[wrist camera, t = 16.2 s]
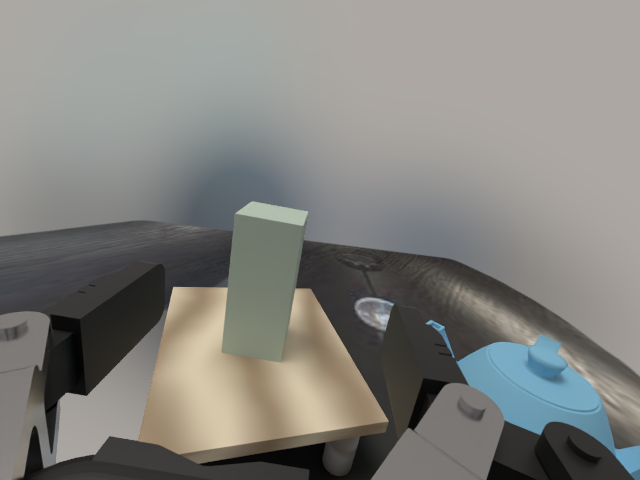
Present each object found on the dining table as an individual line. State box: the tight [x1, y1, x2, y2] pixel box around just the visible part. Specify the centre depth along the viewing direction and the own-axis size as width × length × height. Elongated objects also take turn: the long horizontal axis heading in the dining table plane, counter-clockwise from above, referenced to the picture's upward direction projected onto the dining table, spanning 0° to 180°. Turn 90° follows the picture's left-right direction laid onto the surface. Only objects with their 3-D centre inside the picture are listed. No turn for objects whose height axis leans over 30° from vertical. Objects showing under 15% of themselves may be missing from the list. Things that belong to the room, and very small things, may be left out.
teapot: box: [426, 320, 640, 480], centre depth 28 cm, size 15×15×11 cm
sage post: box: [221, 202, 308, 363], centre depth 27 cm, size 5×5×12 cm
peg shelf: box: [138, 287, 389, 476], centre depth 29 cm, size 16×20×6 cm
